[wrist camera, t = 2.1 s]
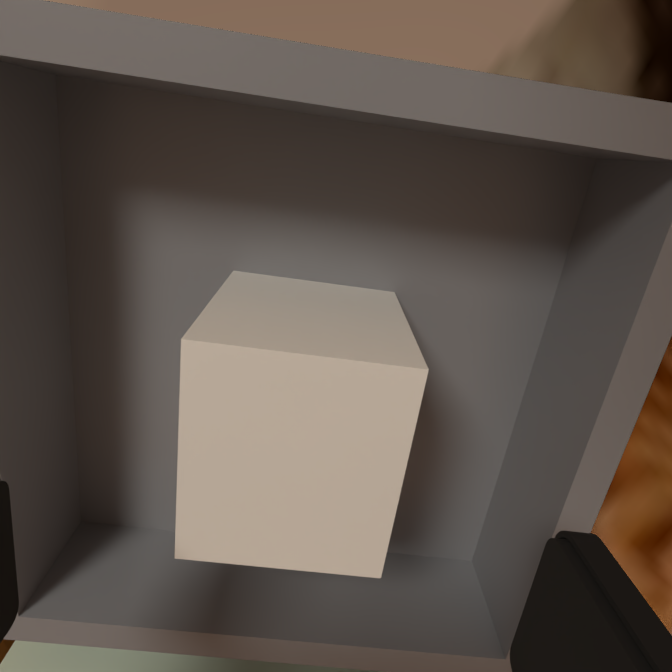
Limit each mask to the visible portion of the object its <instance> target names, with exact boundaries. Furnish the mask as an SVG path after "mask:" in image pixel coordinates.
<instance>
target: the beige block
mask: <svg viewBox="0 0 672 672" xmlns="http://www.w3.org/2000/svg"><path fill="white" fill-rule="evenodd" d="M428 371H429V369H428V367H427V365H426V362H425V360H424V358H423V356H422V353H421V351H420V349H419V346H418V344H417V342H416V340H415V337H414V335H413V333H412V331H411V328H410V326H409V324H408V322H407V319H406V317H405V315H404V313H403V310H402V308H401V306H400V303H399V301H398V299H397V297H396V294H395V292H390V291H382V290H375V289H367V288H360V287H352V286H345V285H337V284H330V283H322V282H315V281H307V280H300V279H292V278H285V277H277V276H270V275H262V274H255V273H247V272H240V271H233V272H232V273H231V274H230V276H229V277H228V278H227V280H226V281H225V282H224V284H223V285H222V286H221V287H220V289H219V290H218V291H217V293H216V294H215V295H214V297H213V298H212V299H211V301H210V302H209V303H208V304H207V306H206V307H205V308H204V310H203V311H202V312H201V314H200V315H199V316H198V318H197V319H196V320H195V321H194V323H193V324H192V325H191V327H190V328H189V329H188V331H187V332H186V333H185V335H184V336H183V337H182V338H181V360H180V393H179V427H178V460H177V493H176V527H175V559H185V560H195V561H206V562H216V563H226V564H237V565H247V566H257V567H268V568H278V569H288V570H299V571H309V572H319V573H330V574H340V575H351V576H361V577H371V578H381V576H382V571H383V567H384V563H385V558H386V554H387V549H388V545H389V541H390V536H391V532H392V528H393V523H394V519H395V515H396V510H397V506H398V502H399V497H400V493H401V488H402V484H403V480H404V475H405V471H406V467H407V462H408V458H409V454H410V449H411V445H412V441H413V436H414V432H415V427H416V423H417V419H418V414H419V410H420V406H421V401H422V397H423V393H424V388H425V384H426V379H427V375H428Z"/></svg>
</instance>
